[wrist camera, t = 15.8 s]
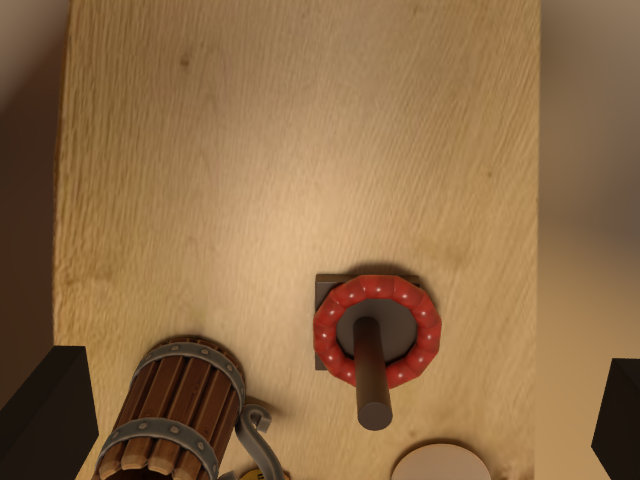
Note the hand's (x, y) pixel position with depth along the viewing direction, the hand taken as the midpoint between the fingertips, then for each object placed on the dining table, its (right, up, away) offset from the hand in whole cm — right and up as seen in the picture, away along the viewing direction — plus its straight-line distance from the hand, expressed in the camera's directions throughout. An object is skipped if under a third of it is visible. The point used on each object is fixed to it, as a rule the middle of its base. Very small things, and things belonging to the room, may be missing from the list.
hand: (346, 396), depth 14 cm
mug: (-11, -11, +41) cm, 43 cm away
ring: (+4, -4, +35) cm, 35 cm away
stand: (+3, -3, +37) cm, 38 cm away
